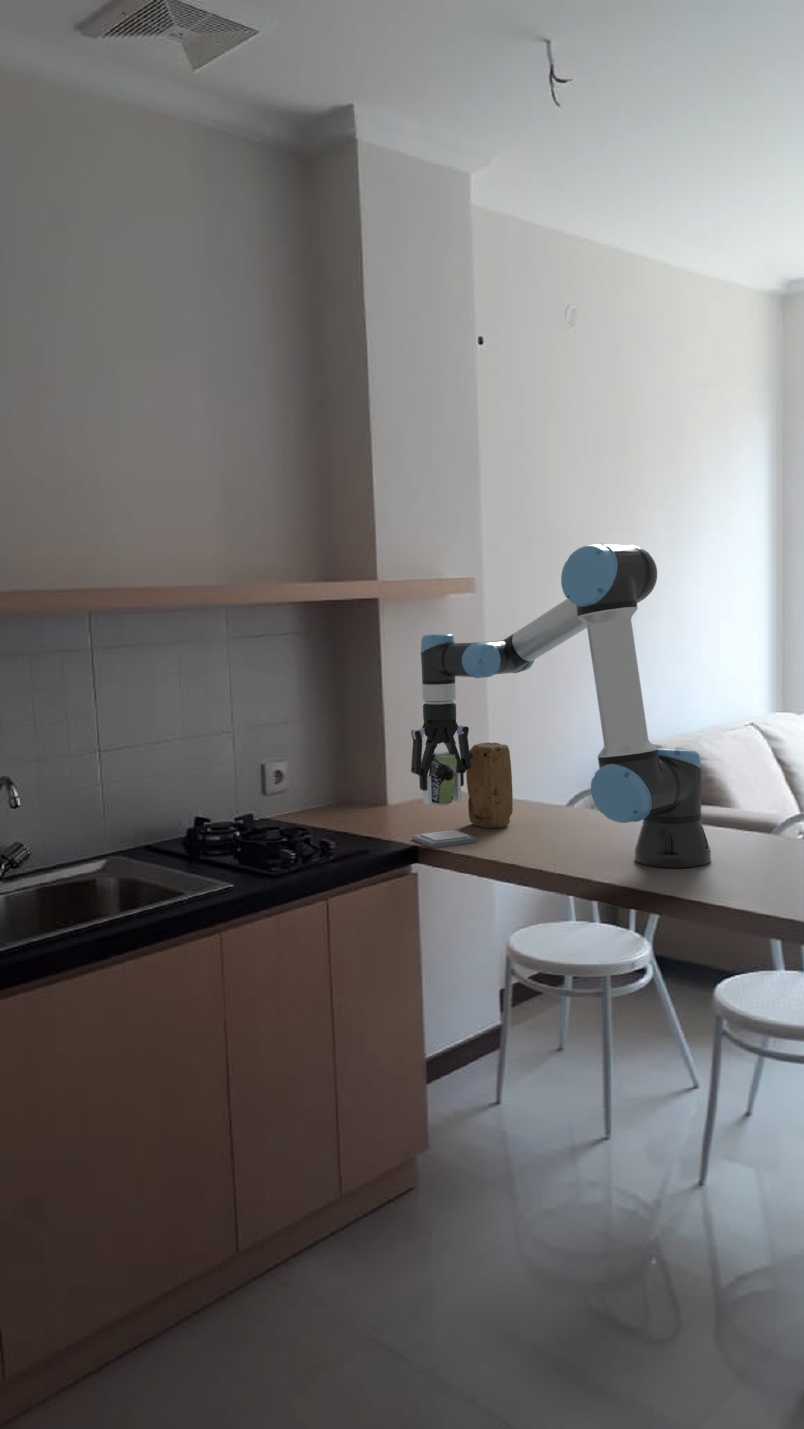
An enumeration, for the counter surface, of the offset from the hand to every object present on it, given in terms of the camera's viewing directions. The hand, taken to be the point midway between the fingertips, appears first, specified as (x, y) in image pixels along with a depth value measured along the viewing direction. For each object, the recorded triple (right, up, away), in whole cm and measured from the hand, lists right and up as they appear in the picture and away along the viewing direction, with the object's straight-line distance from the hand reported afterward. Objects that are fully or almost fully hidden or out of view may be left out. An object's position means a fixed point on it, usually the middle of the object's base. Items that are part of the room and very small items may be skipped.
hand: (442, 802), depth 258 cm
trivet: (0, -9, +1) cm, 9 cm away
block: (+12, -7, +16) cm, 21 cm away
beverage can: (0, -1, 0) cm, 1 cm away
